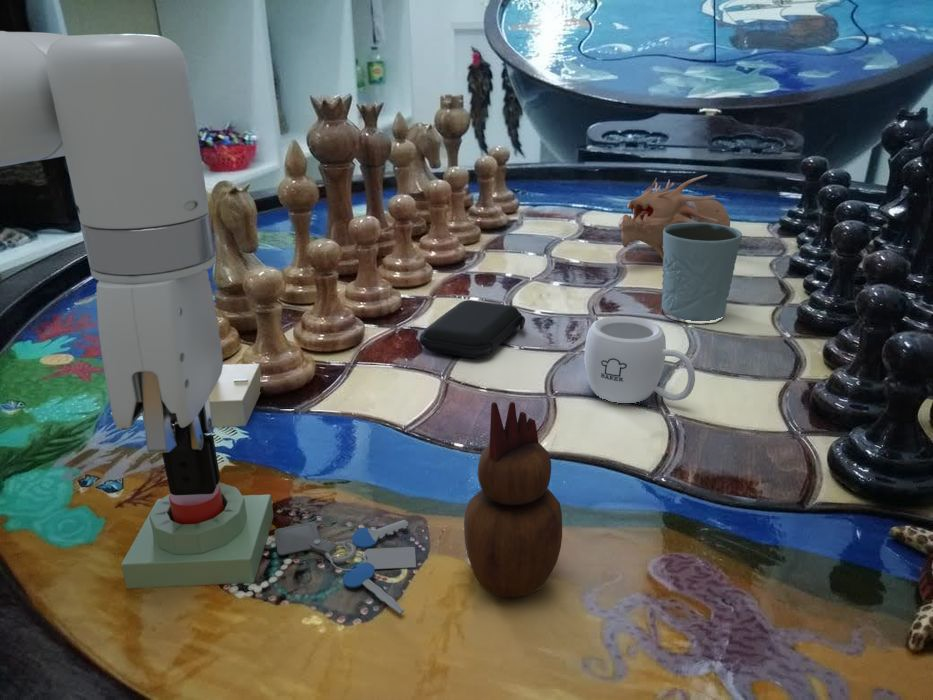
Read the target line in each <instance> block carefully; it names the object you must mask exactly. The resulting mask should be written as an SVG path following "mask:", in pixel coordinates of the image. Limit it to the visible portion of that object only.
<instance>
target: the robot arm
mask: <svg viewBox="0 0 933 700" xmlns="http://www.w3.org/2000/svg"><path fill="white" fill-rule="evenodd" d="M195 114H196V113H195V108H194V102H193V94H192V88H191V81H190V74H189V69H188V65H187V60H186V57H185V55H184V53H183V51H182V49H181V48H180V47H179V45H178V44H177V43H175V42H174V41H173V40H171V39H169V38H167V37H164V36H162V35H155V34H141V33H140V34H139V33H137V34H136V33H117V34H116V33H104V34H103V33H102V34H100V33H99V34H97V33H96V34H77V35H76V34H75V35H73V34H72V35H68V34H62V33H55V32H42V31H41V32H40V31H39V32H36V31H5V30H0V168H1V167H7V166H13V165H18V164H23V163H28V162H38V161H44V160H51V159H56V158H60V157H65V160H66V165H67V170H68V174H69V179H70V183H71V189H72V193H73V198H74V202H75V207H76V211H77V216H78V219H79V220H78V221H79V223H80V224H79V225H80V229H81V233H82V238H83V242H84V247H85V251H86V257H87V260H88V265H89V269H90V275H91V277H92V278H93V279H94V280H97V283H96V312H97V313H96V314H97V329H98V337H99V344H100V352H101V360H102V365H103V371H104V372H103V373H104V378H105V384H106V390H107V396H108V400H109V406H110V411H111V416H112V420H113V423H114V426H115V427H116V429H118V430H120V431H127V430H129V429H131V428H132V426H133V425H134V424H135V423H136V421H137V420H138V419H139V417H140V416H142V412H143V410H144V420H145V426H144V430H145V431H144V432H145V439H146V441H145V442H146V449H147V452H148V454H160V453H161V454H162V460H163V464H164V469H165V474H166V479H167V484H168V489H169V494H170V493H171V494H173V495H197V494H212V493H214V491H215V489H216V486H217V484H218V483H220V480H221V475H220V468H219V463H218V455H217V450H216V445H215V438H214V434H211V433H212V430H213V427H212V418H211V409H210V400H209V396H210V394H211V392H212V390H213V389H214V387H215V385H216V383H217V381H218V379H219V377H220V375H221V372H222V367H223V365H224V364H223V363H224V359H223V349H222V348H223V347H222V339H221V334H220V333H221V332H220V327H219V320H218V315H217V309H216V305H215V300H214V294H213V290H212V286H211V281H210V276H209V272H208V271H209V270H210V269H212V267H214V266H215V264H217V256H216V249H215V242H214V236H213V229H212V223H211V214H210V210H209V209H210V208H209V202H208V195H207V188H206V183H205V174H204V168H203V161H202V154H201V149H200V141H199V140H200V139H199V134H198V127H197V121H196V115H195Z"/></svg>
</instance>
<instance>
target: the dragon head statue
mask: <svg viewBox="0 0 933 700" xmlns="http://www.w3.org/2000/svg"><path fill="white" fill-rule="evenodd" d="M707 176H708V174H704V175H701V176H697V177H694V178H691V179H688V180H686V181H684V182H683V183H681V184H680V185H679V186H678V187H676V188H675V189H673V190H670V189H671V188H672V187H674V185H675V182H672V183H671V184H670V181H671V179H668V181H667V183H666V185H665V188H664V189H662V190H661V184H660V185H659V186H658V182H657V179H658V178H657V177H655V179H654V180H653V182H652V183H651V186H648V187H647V188H646V189H645V190H644V191H643V193H642V194H641V195H639V196H637V197H635V198H634V199H631V200H630V201H628V202H627V206H626V209H627V210H628V209H629V210H631V212H632V215H633V217H632V215H628V214H623V216H622V217H621V218H620V219H619V221H618V228H619V229H620V232H621V238H620V239H621V243H622V246H623V248H628V246H629V244H630V243H634V242H636V241H640V242H642V243H644V244H646V245H648V246H650V247H651V248H653V250H654V251H656V252H657V254H658V255H659V256H660V258H661V260H663V256H664V253H663V230H664V228H665V227H667V226H669V225H672V224H678V223H688V222H702V223H713V224H719V225H724V226H729V227H731V219H730V216H729V214H728V211H727V210H726V208H725V207H724V205H723V203H721V202H720V201H718V200H716V199H715V198H717V196H716V195H714V194H713V195H704V196H703V195H702V196H701V195H699V196H698V195H692V194H682V193H683V191H684V190H685V188H686V187H687V186H688V185H691V184H692V183H694V182H696V181H699V180H701V179H704V178H706V177H707ZM653 188H654V190H653ZM652 190H653V192H652Z"/></svg>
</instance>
